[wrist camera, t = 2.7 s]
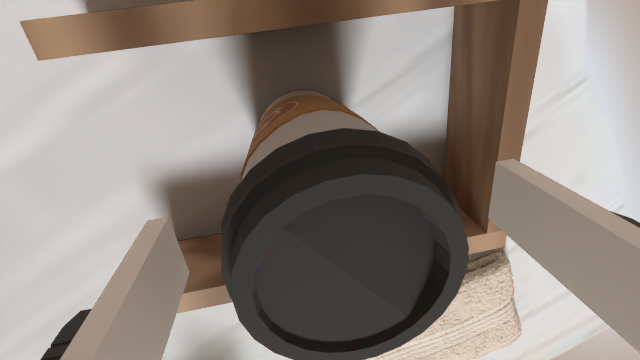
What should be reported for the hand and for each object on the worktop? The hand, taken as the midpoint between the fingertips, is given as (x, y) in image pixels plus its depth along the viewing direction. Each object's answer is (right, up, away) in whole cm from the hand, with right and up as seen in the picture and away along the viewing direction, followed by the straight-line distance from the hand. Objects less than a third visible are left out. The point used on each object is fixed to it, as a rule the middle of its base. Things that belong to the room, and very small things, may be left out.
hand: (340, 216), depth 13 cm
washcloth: (+11, -13, +21) cm, 27 cm away
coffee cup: (-2, +5, +10) cm, 12 cm away
